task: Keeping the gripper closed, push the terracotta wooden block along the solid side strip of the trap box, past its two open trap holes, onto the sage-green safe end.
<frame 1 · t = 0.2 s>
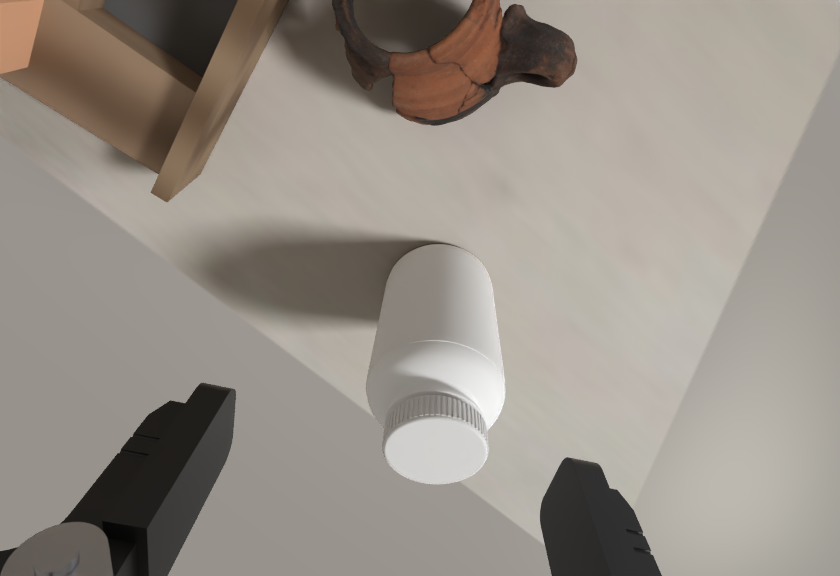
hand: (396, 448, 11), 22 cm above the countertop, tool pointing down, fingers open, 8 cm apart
pill bottle: (438, 284, 36), on the countertop
pottery mug: (453, 30, 26), on the countertop
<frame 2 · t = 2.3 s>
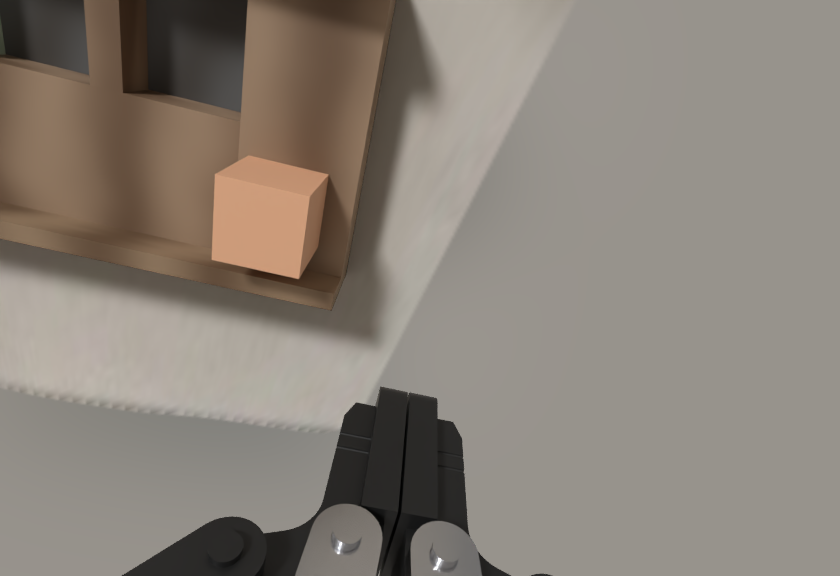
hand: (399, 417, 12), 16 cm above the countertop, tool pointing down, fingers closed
terracotta block: (284, 203, 24), point 2 cm above the countertop, touching trap box
trap box: (141, 86, 24), on the countertop
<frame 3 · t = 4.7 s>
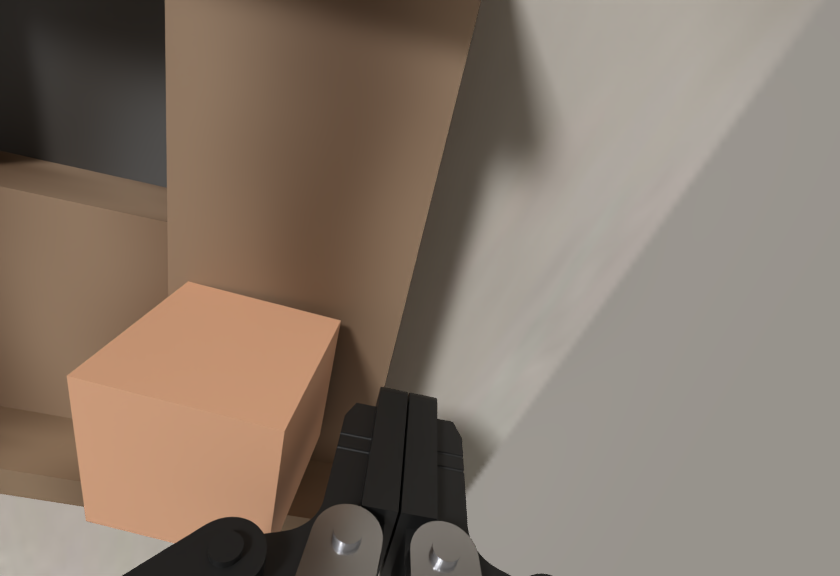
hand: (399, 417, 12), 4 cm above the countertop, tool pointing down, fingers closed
terracotta block: (258, 363, 13), point 3 cm above the countertop, tilted 5°, touching gripper, trap box
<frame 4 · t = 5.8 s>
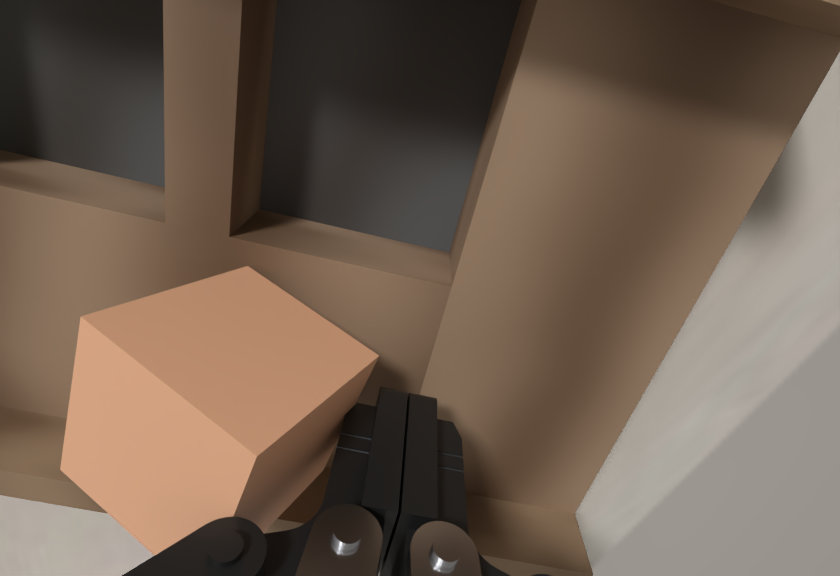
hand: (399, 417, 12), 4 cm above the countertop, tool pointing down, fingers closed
terracotta block: (286, 371, 12), point 3 cm above the countertop, tilted 24°, touching gripper
trap box: (245, 201, 13), on the countertop
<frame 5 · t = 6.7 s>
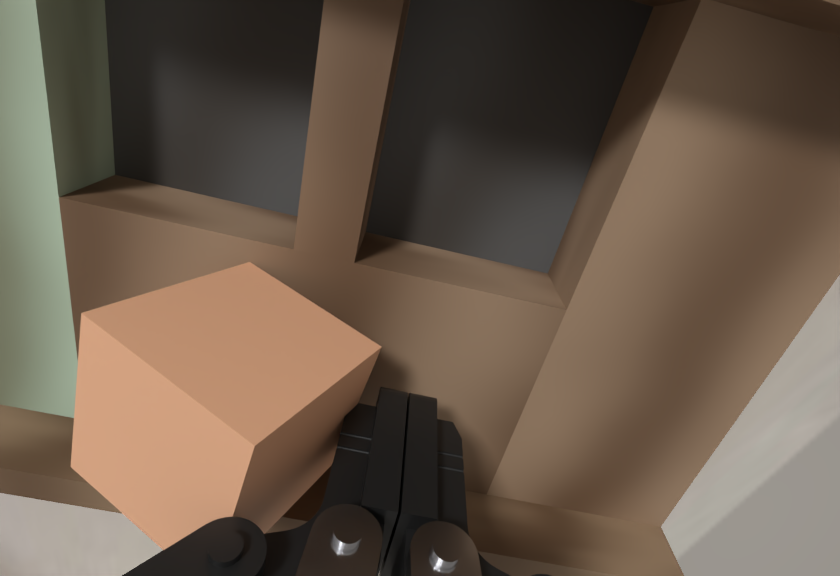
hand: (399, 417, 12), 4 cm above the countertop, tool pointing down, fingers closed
terracotta block: (291, 366, 12), point 3 cm above the countertop, tilted 25°, touching gripper
trap box: (350, 224, 14), on the countertop
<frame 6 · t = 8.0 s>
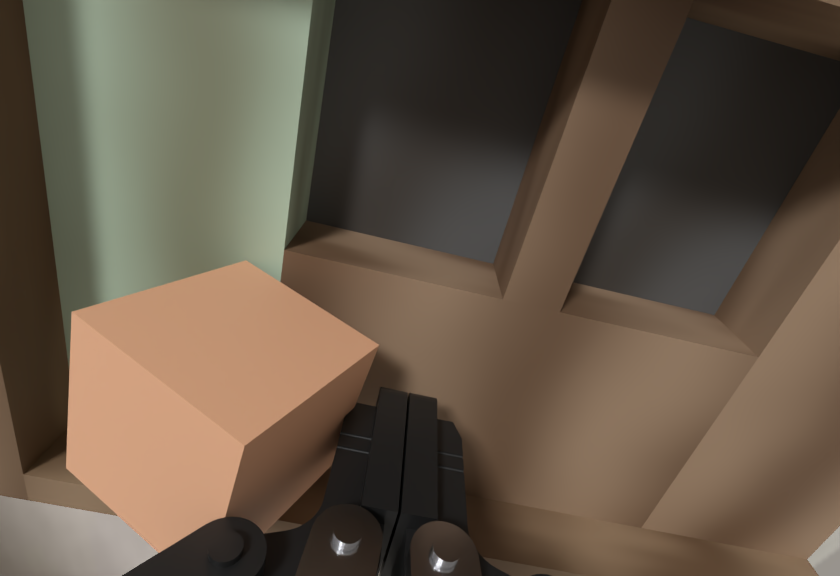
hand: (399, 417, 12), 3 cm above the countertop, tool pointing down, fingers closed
terracotta block: (289, 365, 12), point 3 cm above the countertop, tilted 25°, touching gripper
trap box: (524, 267, 14), on the countertop
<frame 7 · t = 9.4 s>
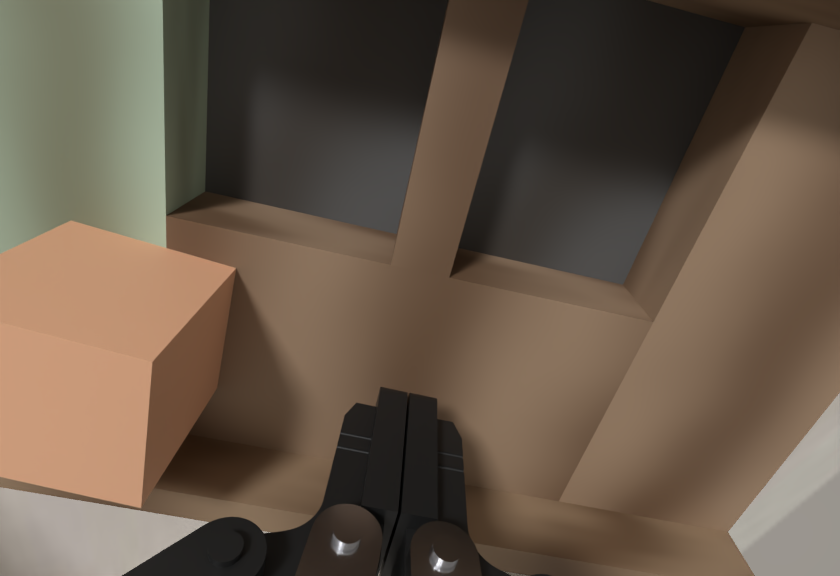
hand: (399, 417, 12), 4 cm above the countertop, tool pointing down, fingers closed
terracotta block: (150, 311, 13), point 2 cm above the countertop, touching trap box
trap box: (430, 238, 14), on the countertop
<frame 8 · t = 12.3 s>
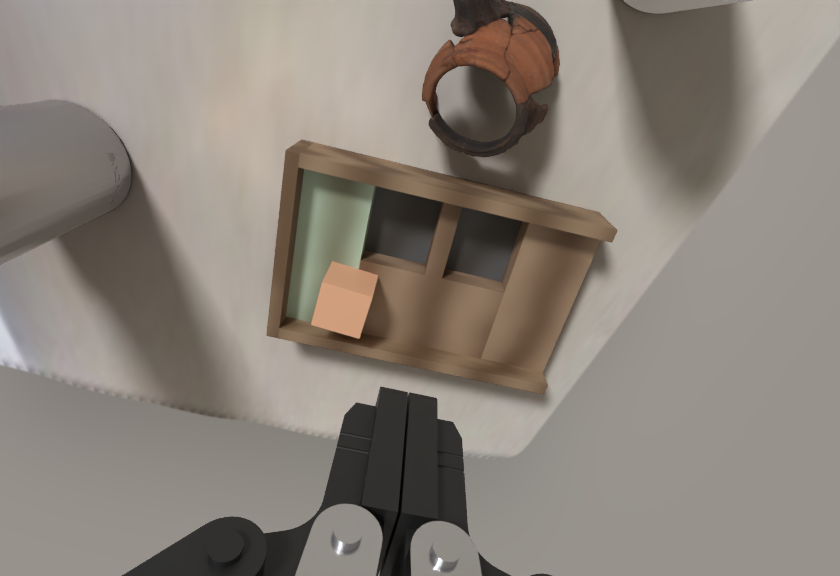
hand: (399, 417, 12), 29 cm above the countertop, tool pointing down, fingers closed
pottery mug: (485, 59, 35), on the countertop
terracotta block: (349, 288, 41), point 2 cm above the countertop, touching trap box
trap box: (436, 265, 42), on the countertop
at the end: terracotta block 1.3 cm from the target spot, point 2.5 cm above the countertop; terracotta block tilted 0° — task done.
